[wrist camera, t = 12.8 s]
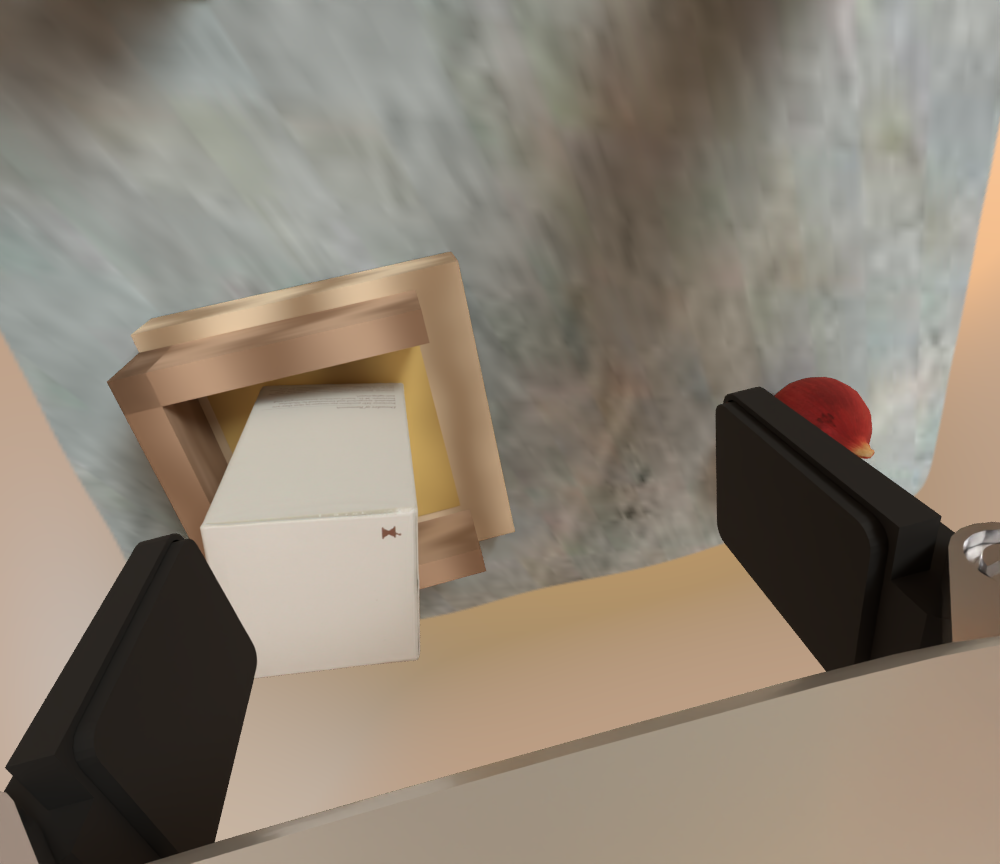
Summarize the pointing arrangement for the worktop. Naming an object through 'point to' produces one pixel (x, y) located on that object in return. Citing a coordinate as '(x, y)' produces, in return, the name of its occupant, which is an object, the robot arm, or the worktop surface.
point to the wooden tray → (329, 360)
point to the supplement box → (321, 529)
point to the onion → (832, 411)
